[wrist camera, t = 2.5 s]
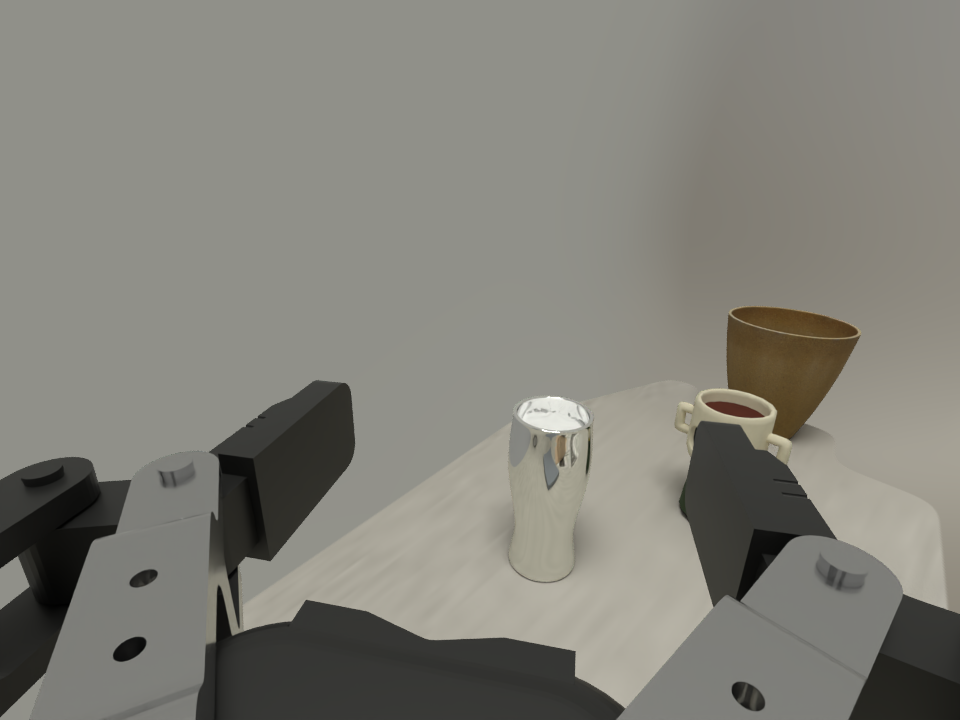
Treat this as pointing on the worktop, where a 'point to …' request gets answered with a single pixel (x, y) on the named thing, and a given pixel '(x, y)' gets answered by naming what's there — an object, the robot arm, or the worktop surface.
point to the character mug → (732, 420)
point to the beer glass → (547, 483)
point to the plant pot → (787, 359)
